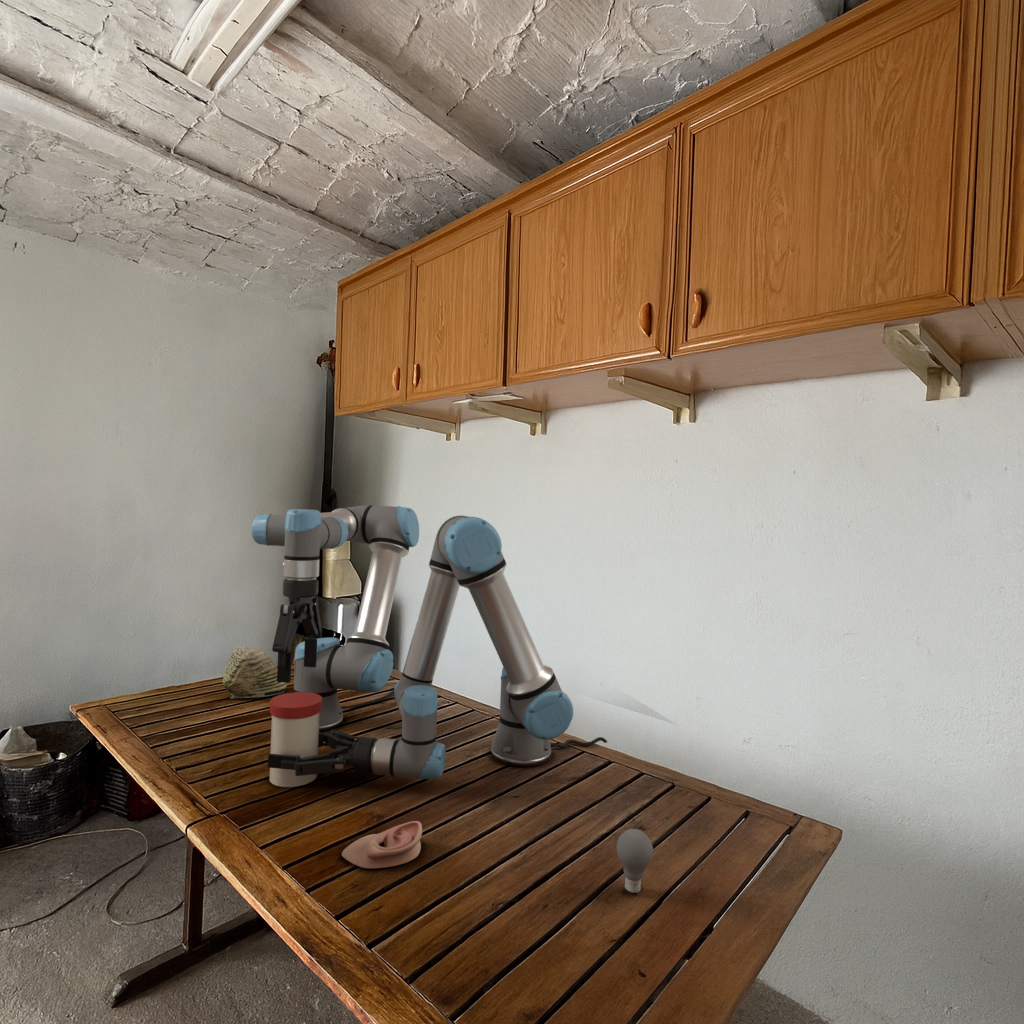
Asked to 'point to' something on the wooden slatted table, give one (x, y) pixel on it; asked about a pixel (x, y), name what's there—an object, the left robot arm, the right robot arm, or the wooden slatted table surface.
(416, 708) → the right robot arm
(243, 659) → the fossil
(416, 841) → the anatomical model
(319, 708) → the lid
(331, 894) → the wooden slatted table surface
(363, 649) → the left robot arm
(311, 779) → the jar
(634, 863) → the light bulb
